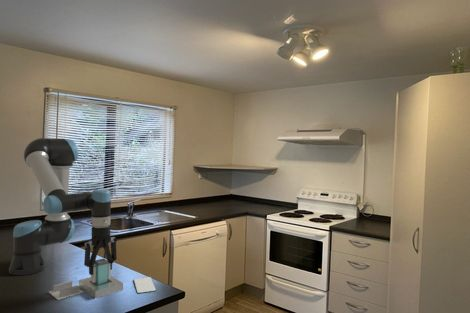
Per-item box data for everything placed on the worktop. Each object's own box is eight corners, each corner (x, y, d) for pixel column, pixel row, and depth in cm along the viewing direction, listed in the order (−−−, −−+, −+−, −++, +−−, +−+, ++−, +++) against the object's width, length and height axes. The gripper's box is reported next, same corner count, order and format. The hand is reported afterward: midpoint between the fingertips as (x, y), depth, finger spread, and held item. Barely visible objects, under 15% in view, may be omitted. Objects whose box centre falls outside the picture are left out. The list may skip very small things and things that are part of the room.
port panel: (78, 287, 148) (78, 279, 148) (105, 279, 157) (105, 272, 157) (95, 298, 137) (95, 290, 137) (123, 289, 146) (123, 282, 146)
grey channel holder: (48, 292, 142) (48, 285, 142) (73, 285, 149) (73, 279, 149) (57, 300, 135) (57, 293, 135) (83, 292, 142) (83, 285, 142)
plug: (93, 288, 147) (93, 260, 146) (103, 285, 150) (103, 258, 150) (98, 291, 144) (98, 263, 144) (107, 288, 147) (107, 260, 147)
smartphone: (156, 292, 145) (150, 278, 160) (156, 290, 145) (150, 276, 160) (137, 295, 142) (133, 280, 157) (137, 293, 142) (133, 278, 157)
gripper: (82, 231, 137) (82, 288, 137) (125, 224, 151) (125, 276, 151) (74, 227, 142) (74, 283, 143) (117, 221, 156) (116, 271, 156)
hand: (100, 279), depth 147 cm, fingers open, 6 cm apart
